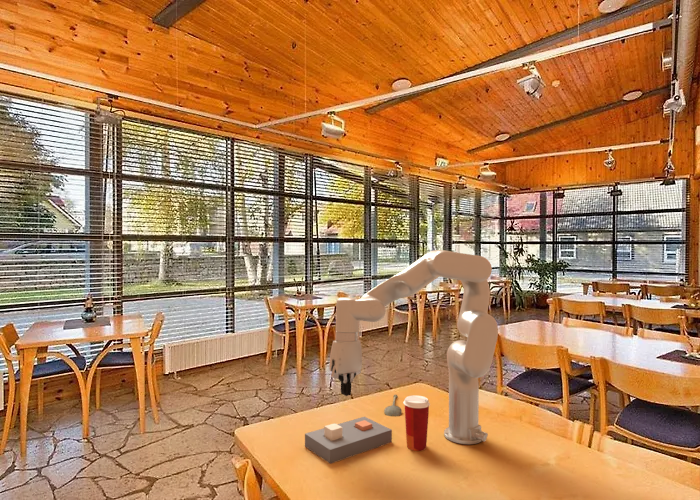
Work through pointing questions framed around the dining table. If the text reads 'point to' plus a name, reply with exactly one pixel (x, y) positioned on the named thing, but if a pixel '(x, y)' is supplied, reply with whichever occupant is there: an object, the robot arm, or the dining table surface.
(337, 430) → the cream cube block
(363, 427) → the peach square button
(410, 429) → the coffee cup
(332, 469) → the dining table surface
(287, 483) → the dining table surface
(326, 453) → the button panel
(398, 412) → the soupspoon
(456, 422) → the robot arm
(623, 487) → the dining table surface
